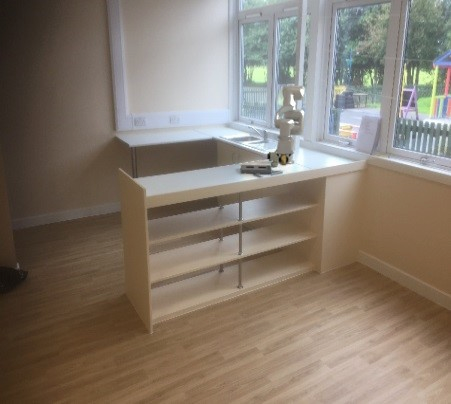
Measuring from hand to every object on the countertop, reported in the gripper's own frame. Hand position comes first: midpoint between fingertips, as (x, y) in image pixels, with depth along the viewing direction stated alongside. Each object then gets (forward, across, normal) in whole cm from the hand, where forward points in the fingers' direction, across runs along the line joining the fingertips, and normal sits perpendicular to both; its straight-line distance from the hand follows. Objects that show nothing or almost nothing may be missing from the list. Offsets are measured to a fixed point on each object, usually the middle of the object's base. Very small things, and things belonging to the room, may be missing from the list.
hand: (283, 162), depth 312 cm
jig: (+6, -20, -4) cm, 22 cm away
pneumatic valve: (+7, -5, +14) cm, 16 cm away
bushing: (+2, 0, 0) cm, 2 cm away
